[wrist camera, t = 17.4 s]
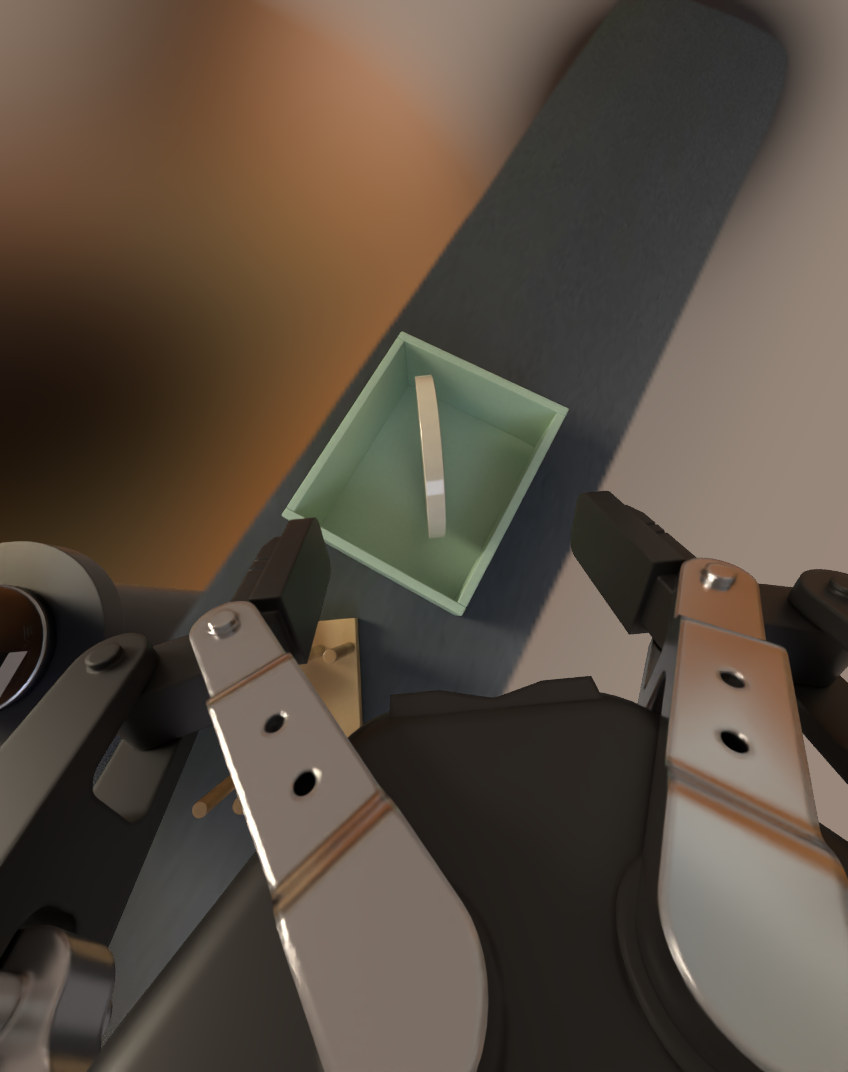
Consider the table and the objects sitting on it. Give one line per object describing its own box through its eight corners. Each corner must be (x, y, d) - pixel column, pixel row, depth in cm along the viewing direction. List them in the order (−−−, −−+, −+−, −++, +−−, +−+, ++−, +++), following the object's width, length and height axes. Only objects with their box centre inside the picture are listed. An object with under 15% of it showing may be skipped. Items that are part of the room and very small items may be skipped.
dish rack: (247, 795, 24) (187, 855, 18) (249, 627, 26) (197, 632, 20) (366, 784, 24) (345, 841, 18) (357, 617, 26) (337, 619, 20)
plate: (429, 551, 26) (428, 514, 17) (417, 430, 29) (411, 334, 19) (442, 550, 26) (449, 512, 17) (429, 428, 29) (429, 332, 19)
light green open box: (455, 615, 26) (461, 616, 21) (310, 534, 28) (280, 515, 22) (542, 447, 29) (569, 408, 23) (406, 381, 30) (401, 330, 25)
